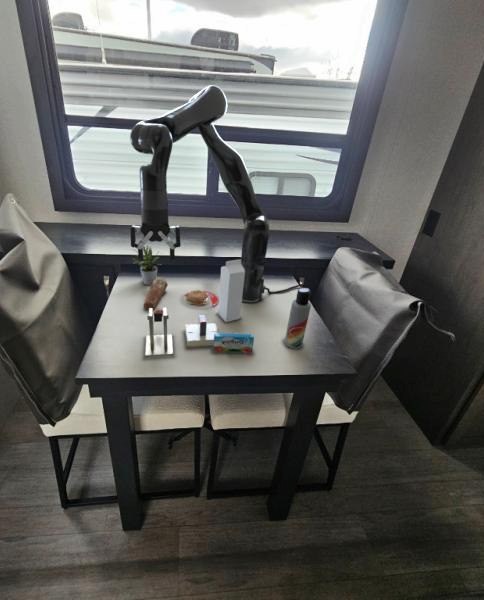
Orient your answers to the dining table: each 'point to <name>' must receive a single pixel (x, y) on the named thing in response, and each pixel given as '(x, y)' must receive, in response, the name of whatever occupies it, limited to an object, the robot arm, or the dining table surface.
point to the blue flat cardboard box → (233, 343)
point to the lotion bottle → (298, 319)
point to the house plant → (148, 267)
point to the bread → (155, 293)
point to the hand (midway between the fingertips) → (156, 260)
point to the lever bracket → (158, 338)
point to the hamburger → (200, 297)
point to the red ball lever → (158, 315)
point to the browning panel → (195, 338)
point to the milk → (231, 290)
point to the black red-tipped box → (202, 325)
